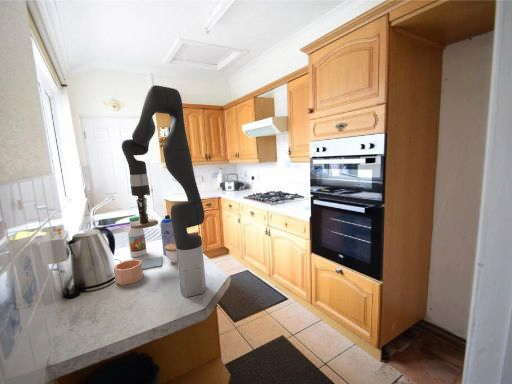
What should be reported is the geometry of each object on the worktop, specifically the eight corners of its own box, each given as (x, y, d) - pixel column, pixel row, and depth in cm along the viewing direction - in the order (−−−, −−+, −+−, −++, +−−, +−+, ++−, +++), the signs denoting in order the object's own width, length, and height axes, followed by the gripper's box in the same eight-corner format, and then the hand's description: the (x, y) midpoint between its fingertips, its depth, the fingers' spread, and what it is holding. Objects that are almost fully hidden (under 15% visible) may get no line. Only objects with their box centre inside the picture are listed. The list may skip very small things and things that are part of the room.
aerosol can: (179, 254, 131) (175, 216, 128) (163, 257, 129) (159, 218, 125) (178, 249, 139) (174, 212, 136) (162, 251, 136) (158, 214, 133)
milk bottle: (127, 256, 132) (122, 218, 129) (139, 250, 139) (134, 214, 136) (138, 257, 129) (133, 219, 126) (150, 252, 136) (145, 215, 133)
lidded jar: (183, 265, 117) (181, 246, 116) (162, 264, 119) (159, 245, 118) (193, 256, 127) (191, 238, 126) (173, 255, 130) (171, 237, 128)
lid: (157, 226, 114) (156, 215, 114) (129, 230, 111) (127, 218, 110) (158, 220, 125) (157, 210, 125) (132, 223, 122) (130, 213, 121)
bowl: (141, 281, 104) (140, 267, 104) (114, 286, 101) (112, 272, 100) (143, 270, 114) (142, 258, 113) (118, 275, 111) (116, 262, 110)
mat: (161, 266, 118) (161, 265, 118) (135, 271, 114) (135, 269, 114) (161, 257, 128) (161, 256, 128) (137, 261, 124) (137, 260, 124)
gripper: (147, 185, 110) (152, 224, 112) (149, 182, 123) (153, 217, 126) (128, 186, 107) (133, 226, 110) (132, 183, 121) (136, 219, 123)
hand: (144, 221), depth 118 cm, fingers closed on lid, 3 cm apart
